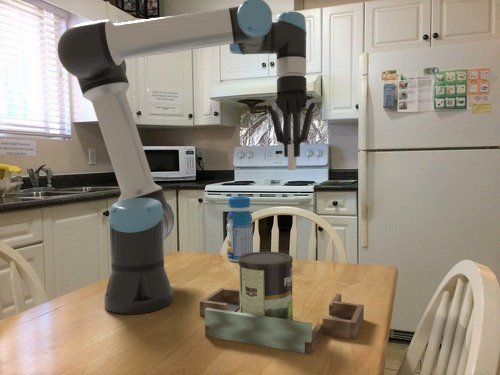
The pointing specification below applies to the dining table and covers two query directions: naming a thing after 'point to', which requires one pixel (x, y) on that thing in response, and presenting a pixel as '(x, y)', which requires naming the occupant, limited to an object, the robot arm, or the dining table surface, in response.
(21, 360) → the dining table surface
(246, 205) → the beverage bottle
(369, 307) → the dining table surface
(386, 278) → the dining table surface
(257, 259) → the coffee can
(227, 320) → the wooden tray
